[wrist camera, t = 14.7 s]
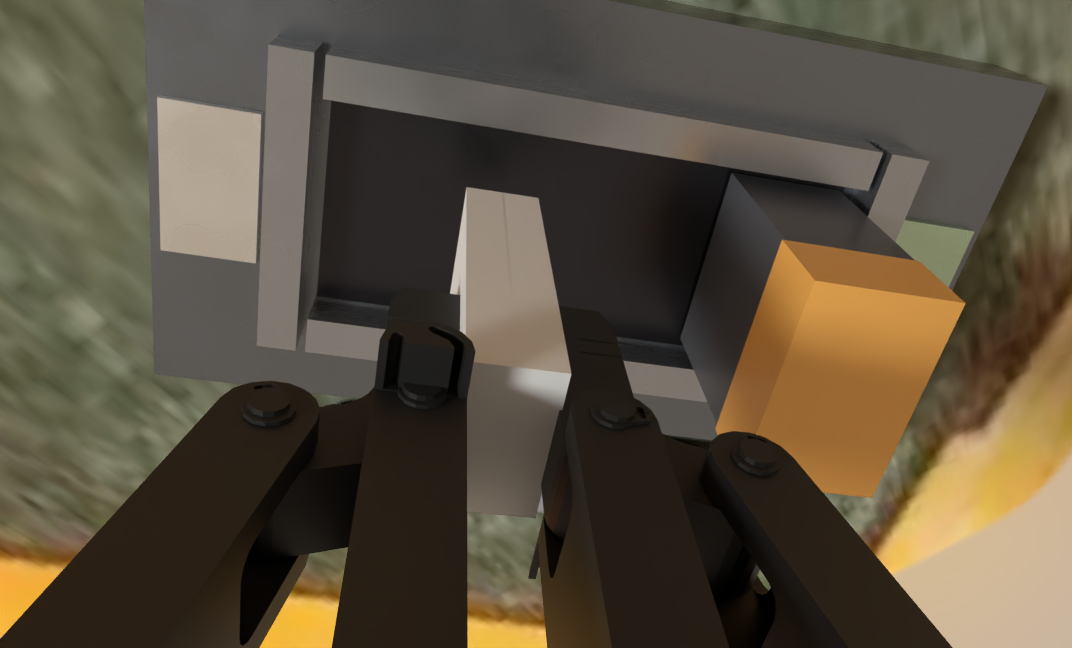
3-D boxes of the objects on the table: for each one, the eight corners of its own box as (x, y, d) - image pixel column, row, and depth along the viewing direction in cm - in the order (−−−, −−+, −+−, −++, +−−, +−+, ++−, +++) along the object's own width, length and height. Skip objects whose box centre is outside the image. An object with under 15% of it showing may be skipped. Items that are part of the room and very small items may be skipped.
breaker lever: (676, 337, 24) (737, 482, 19) (727, 171, 22) (814, 280, 16) (782, 352, 25) (872, 497, 19) (842, 191, 22) (965, 303, 17)
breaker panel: (180, 332, 26) (139, 397, 23) (175, -97, 20) (121, -87, 17) (844, 416, 29) (889, 483, 26) (997, 65, 24) (1077, 97, 20)
